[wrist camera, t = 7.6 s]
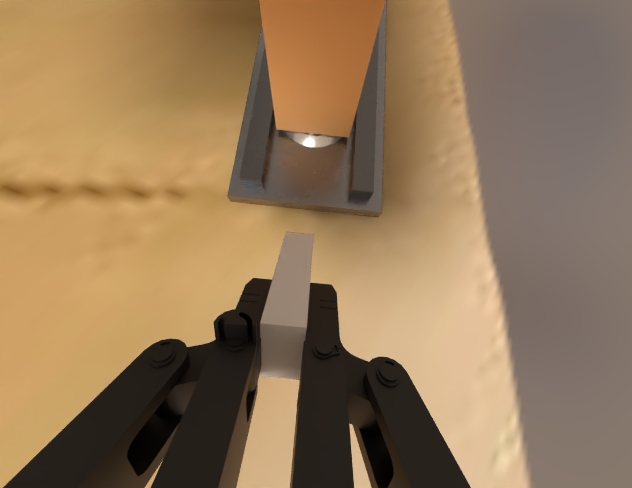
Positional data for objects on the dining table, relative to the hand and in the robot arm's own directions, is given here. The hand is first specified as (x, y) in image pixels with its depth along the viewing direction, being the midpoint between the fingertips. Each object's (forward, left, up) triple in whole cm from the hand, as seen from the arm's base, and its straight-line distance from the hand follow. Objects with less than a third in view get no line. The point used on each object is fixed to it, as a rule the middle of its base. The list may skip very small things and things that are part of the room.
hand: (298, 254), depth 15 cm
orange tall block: (-13, +3, -4) cm, 14 cm away
